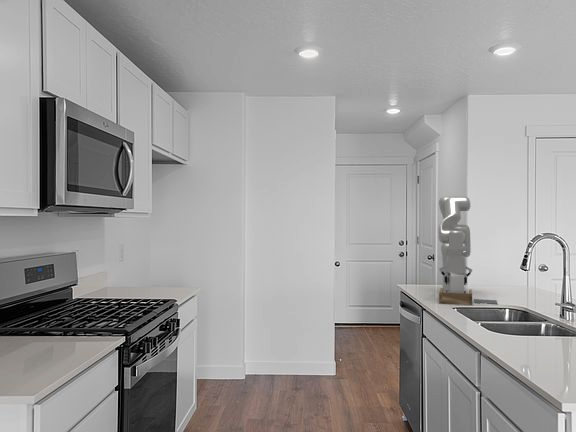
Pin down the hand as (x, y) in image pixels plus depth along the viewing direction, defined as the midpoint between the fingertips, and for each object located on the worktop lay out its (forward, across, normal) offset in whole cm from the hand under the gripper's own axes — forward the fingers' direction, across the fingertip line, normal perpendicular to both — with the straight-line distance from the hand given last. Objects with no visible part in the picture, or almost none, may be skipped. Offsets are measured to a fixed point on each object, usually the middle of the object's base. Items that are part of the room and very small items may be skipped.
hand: (455, 284), depth 277 cm
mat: (+10, -15, -8) cm, 20 cm away
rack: (+10, 0, -3) cm, 10 cm away
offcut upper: (+7, 0, -9) cm, 11 cm away
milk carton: (+10, 0, 0) cm, 10 cm away
